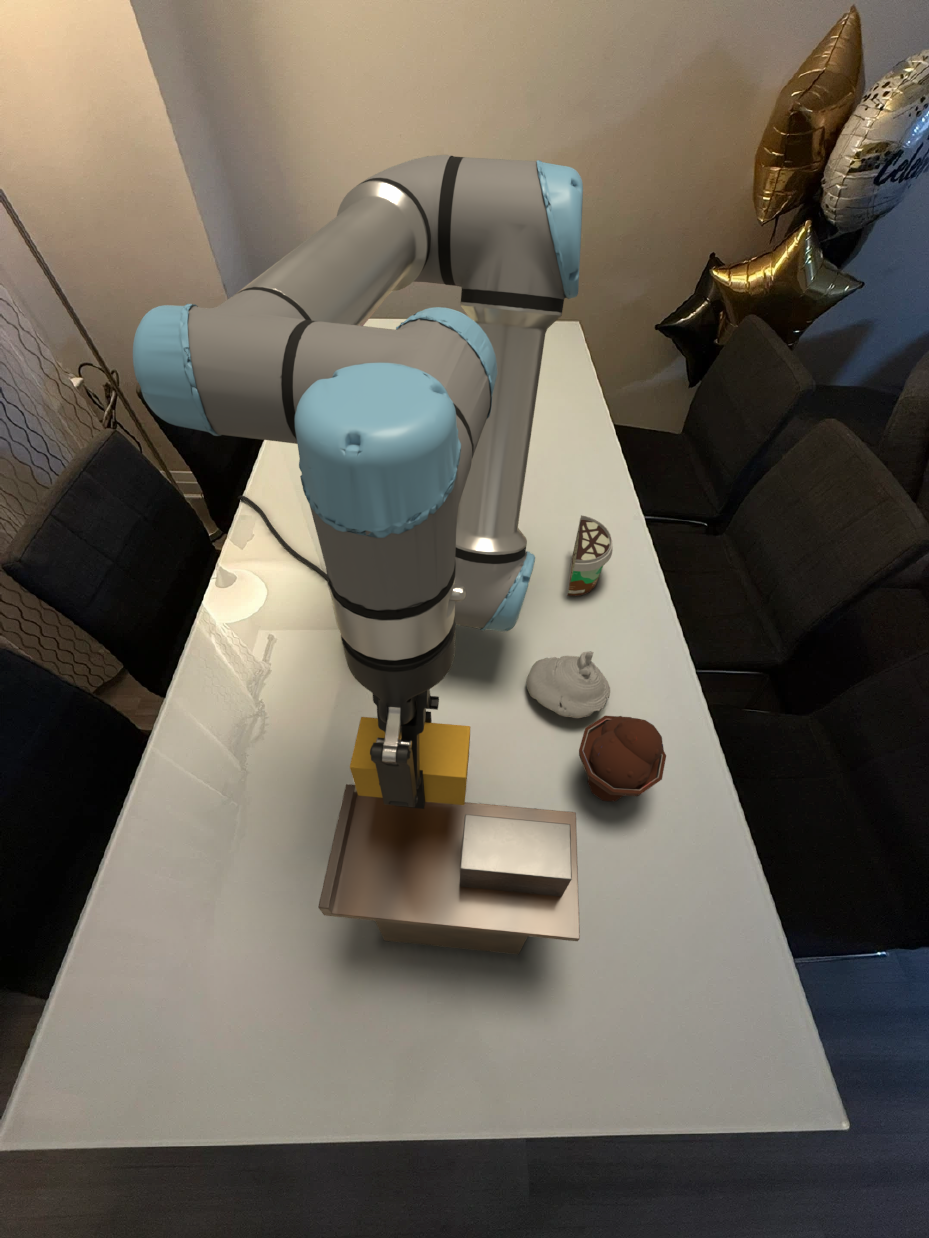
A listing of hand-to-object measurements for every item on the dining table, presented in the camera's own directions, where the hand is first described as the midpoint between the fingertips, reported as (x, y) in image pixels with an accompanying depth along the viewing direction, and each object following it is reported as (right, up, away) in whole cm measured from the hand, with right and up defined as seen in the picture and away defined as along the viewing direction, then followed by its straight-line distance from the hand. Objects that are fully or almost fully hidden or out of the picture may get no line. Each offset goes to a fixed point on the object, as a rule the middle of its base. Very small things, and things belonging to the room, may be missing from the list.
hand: (414, 774), depth 55 cm
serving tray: (+4, -20, +16) cm, 26 cm away
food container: (+27, +22, +51) cm, 62 cm away
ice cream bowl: (+25, -8, +26) cm, 37 cm away
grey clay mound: (+21, +3, +35) cm, 41 cm away
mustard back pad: (0, 0, 0) cm, 0 cm away
